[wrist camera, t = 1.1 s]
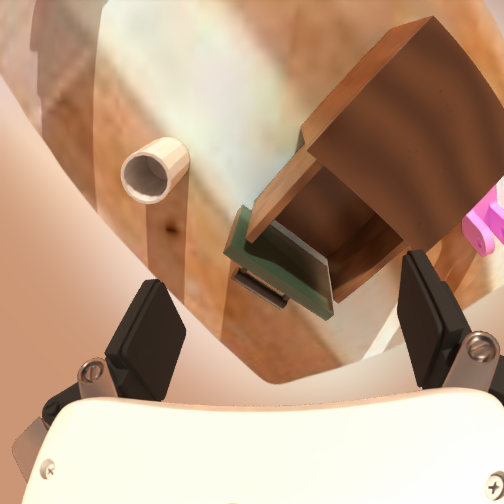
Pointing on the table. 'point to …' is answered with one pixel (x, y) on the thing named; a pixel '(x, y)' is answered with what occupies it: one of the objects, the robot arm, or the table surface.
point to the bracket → (484, 224)
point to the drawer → (309, 238)
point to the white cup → (155, 170)
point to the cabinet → (413, 132)
